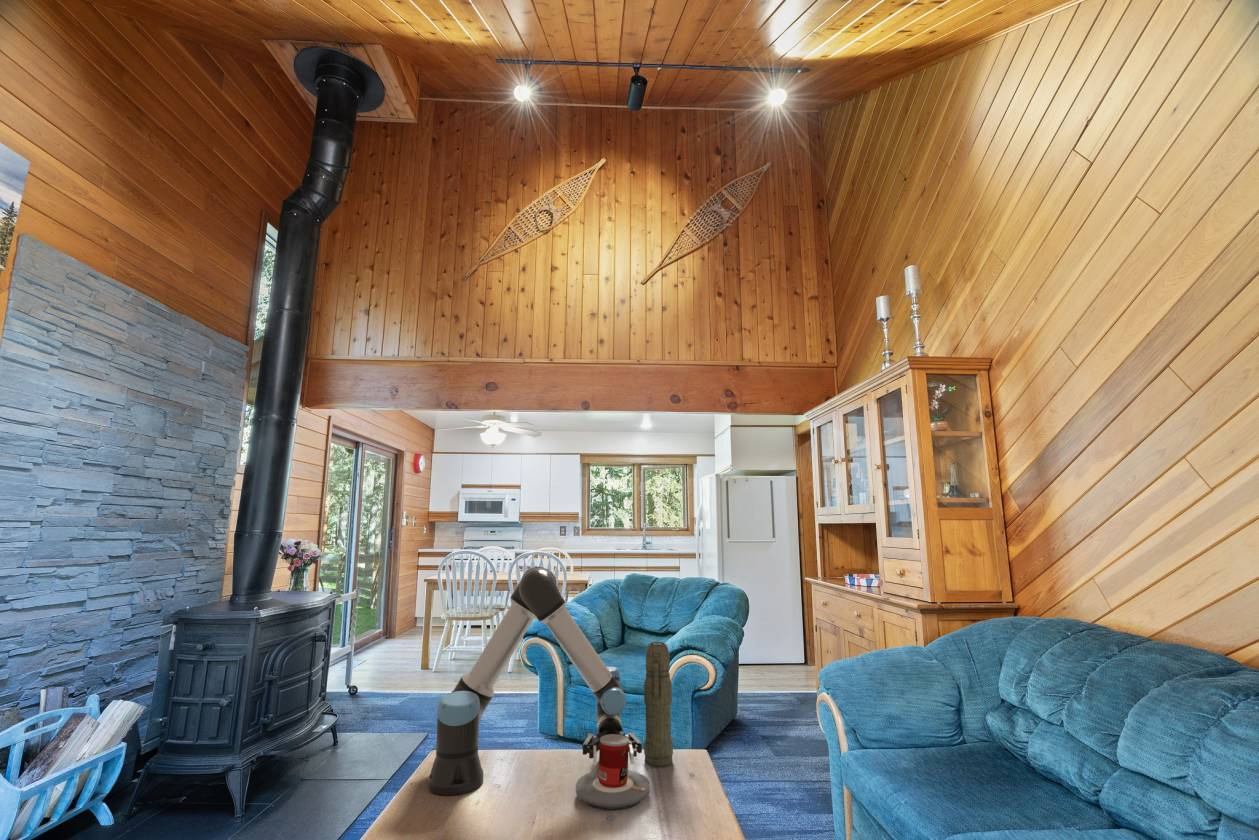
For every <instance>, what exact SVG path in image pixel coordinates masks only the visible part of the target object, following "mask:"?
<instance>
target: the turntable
mask: <svg viewBox="0 0 1259 840" xmlns="http://www.w3.org/2000/svg"><path fill="white" fill-rule="evenodd" d="M598 777H599V769H598V770H593V771H590V772H588V773H586V774H584V775H583V776H580V777H579V778H578V780H577V781H576V783H575V793H576V796H577V798H578V799H580V800H581V801H583V802H584V803H585V802H586V803H589V804H592V805H596V806H602V807H621V806H628V805H632V804H635V803H638V802H640V801H641V802H642V801H644V800H645V799H646V798H647V797H648V796H649V794H650V792H651V791H650V790H651V788H650V785H651V784H650V783H651V782H650V781H649V779H648V777H646V776H645V775H644V774H642V773H639V772H637V771H634V770H630V769H628V779H627V783H626V785H624V786H622V787H618V788H610V787H605V786H603V785H601V784H600V783H599V778H598ZM641 802H640V803H641ZM586 803H585V804H586Z"/></svg>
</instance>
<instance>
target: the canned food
mask: <svg viewBox="0 0 1259 840" xmlns="http://www.w3.org/2000/svg"><path fill="white" fill-rule="evenodd" d="M628 750H629V741H628V738H627V737H625V736H622V735H617V734H609V735H604V736H602V737H601V738H600V748H599V751H598V770H599V777H598V778H599V783H600V784H601V785H603V786H605V787H610V788H618V787H622V786H624V785H626V783H627V779H628V770H629V752H628Z"/></svg>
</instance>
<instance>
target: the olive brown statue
mask: <svg viewBox="0 0 1259 840" xmlns="http://www.w3.org/2000/svg"><path fill="white" fill-rule="evenodd" d="M670 665H671V664H670V651H669V648H668V645H667V644H666V643H665V642H661V641H654V642H649V644H647V647H646V650H645V670H646V671H645V672H646V673H645V679H644V682H643V703H644V705H645V737H644V740H643V749H644V750H643V751H644V753H643V754H644V764H645V765H646V766H648V767H651V768H658V769H659V768H661V769H662V768H667V767H670V766H672V765H673V763H674V762H673V754H674V751H673V750H674V743H673V739H672V726H671V725H672V716H671V715H672V714H671V712H672V711H671V710H672V709H671V705H672V703H673V685H672V680H671V675H670V670H671V669H670V668H671V667H670ZM671 764H672V765H671Z"/></svg>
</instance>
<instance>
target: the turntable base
mask: <svg viewBox="0 0 1259 840" xmlns="http://www.w3.org/2000/svg"><path fill="white" fill-rule="evenodd" d="M641 802H642V801H640V802H638V803H635V804H632V805H628V806H621V807H602V806H596V805H592V804H589V803H586V802H584V803H585V804H586V805H587V806H589V807H590V808H594V809H596V810H599V811H600V810H601V811H610V812H611V811H624V810H627V809H631V808H633V807H636V806H637V805H639V804H640V803H641Z"/></svg>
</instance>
